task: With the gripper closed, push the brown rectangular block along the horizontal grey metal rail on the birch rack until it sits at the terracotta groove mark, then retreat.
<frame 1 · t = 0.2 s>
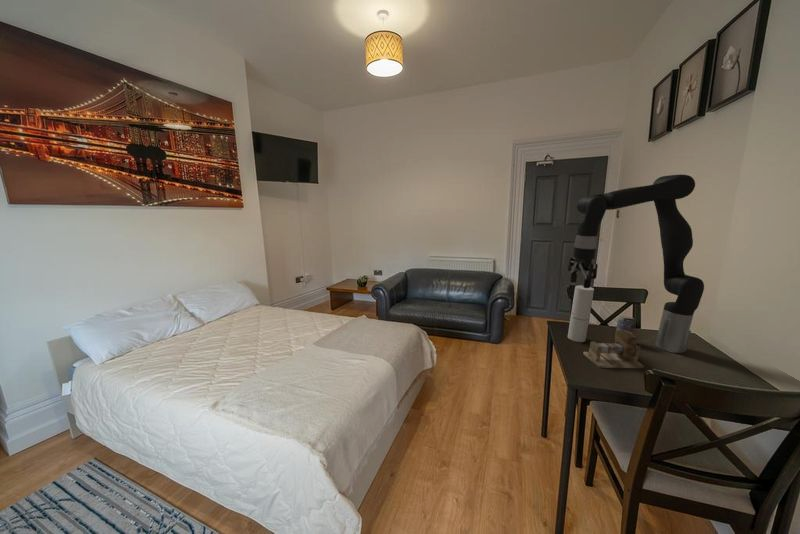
hand: (579, 284, 117), 29 cm above the table, fingers open, 8 cm apart
pipe rack: (611, 360, 113), on the table
cylindrical container: (576, 338, 132), on the table
beverage can: (622, 341, 130), on the table
brown rectangular block: (624, 344, 112), point 7 cm above the table, slide at -3.8 cm
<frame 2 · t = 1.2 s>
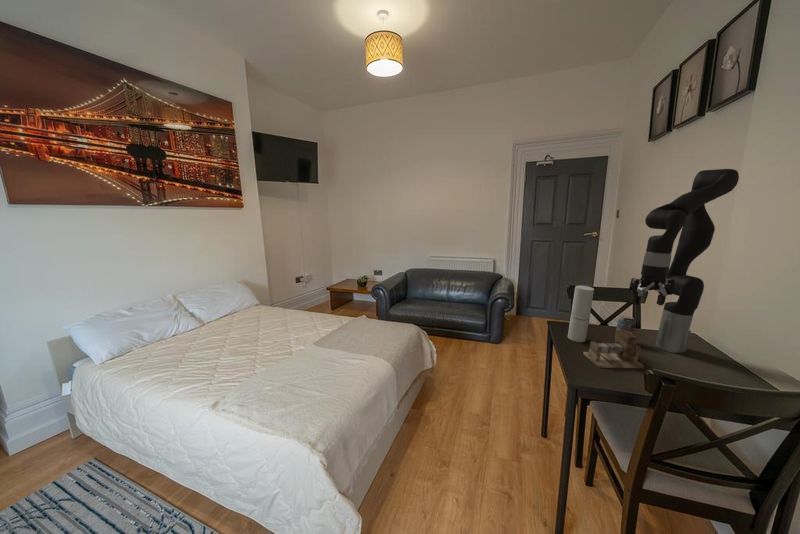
hand: (647, 304, 109), 24 cm above the table, fingers open, 8 cm apart
nothing on the table moved.
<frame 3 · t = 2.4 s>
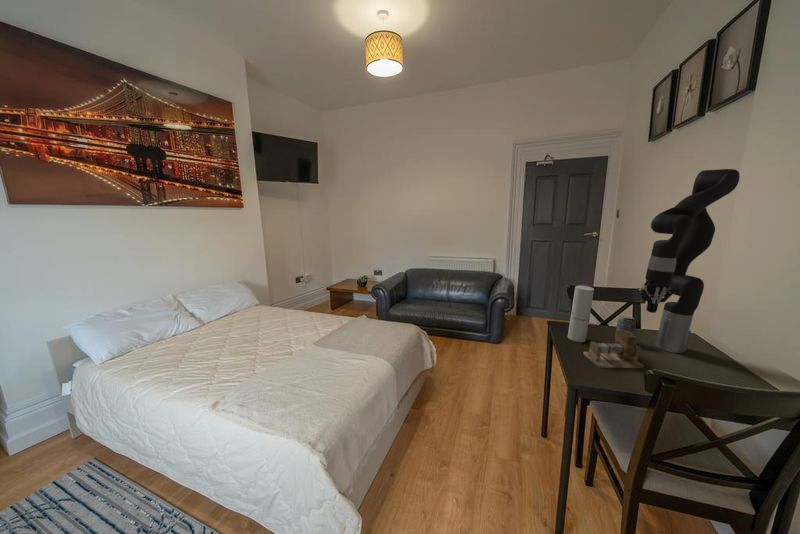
hand: (651, 311, 109), 21 cm above the table, fingers closed
nothing on the table moved.
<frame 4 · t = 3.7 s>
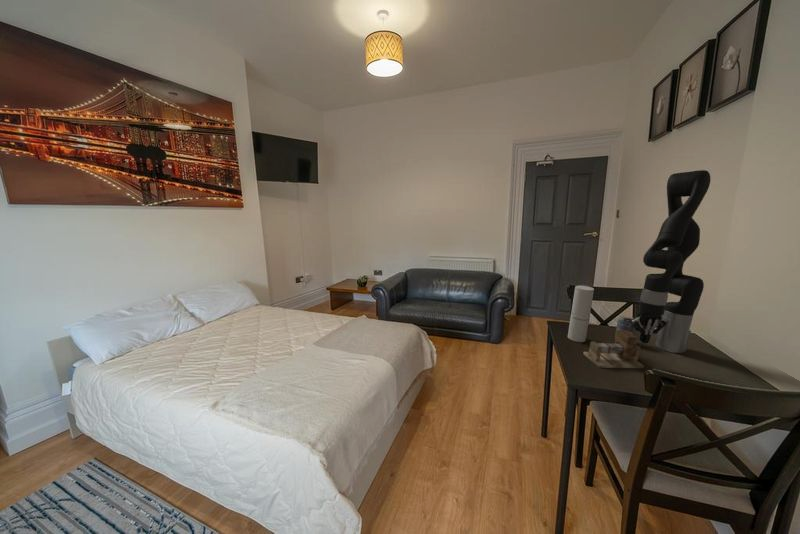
hand: (643, 342, 111), 8 cm above the table, fingers closed
nothing on the table moved.
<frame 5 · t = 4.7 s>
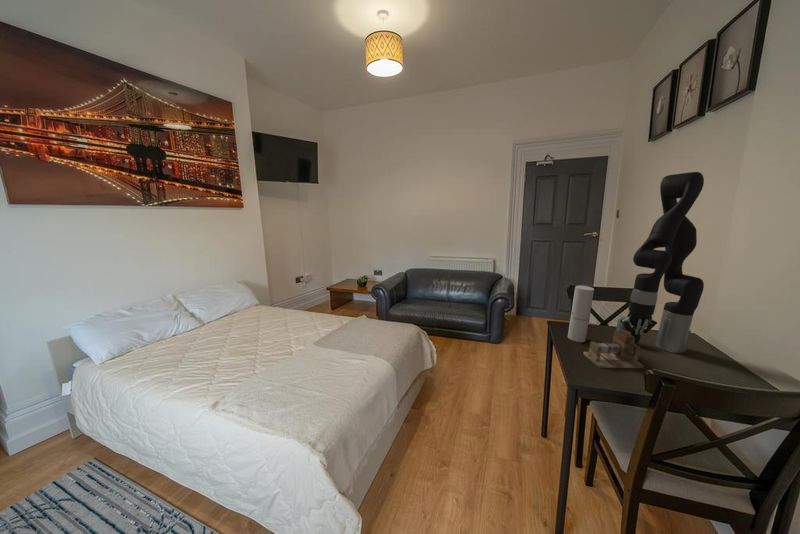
hand: (634, 342, 111), 8 cm above the table, fingers closed
brown rectangular block: (622, 344, 112), point 7 cm above the table, slide at -2.9 cm, touching gripper
everything else where it was.
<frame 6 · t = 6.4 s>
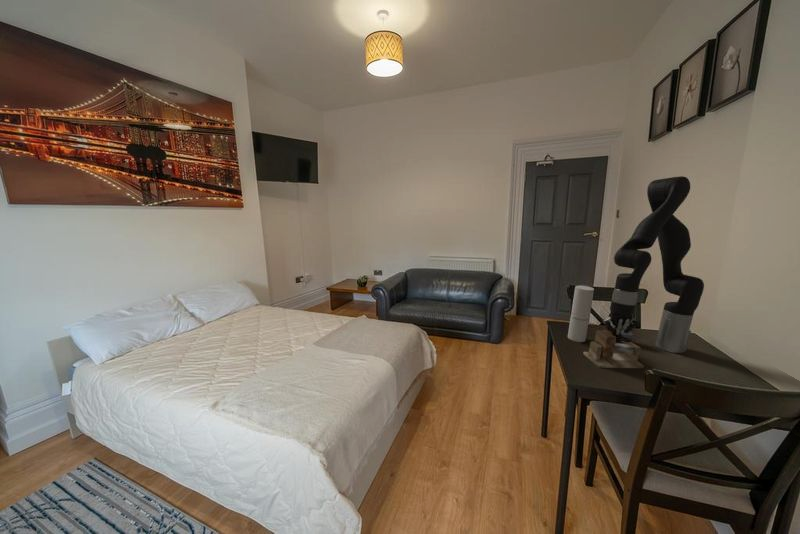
hand: (615, 341, 111), 8 cm above the table, fingers closed
brown rectangular block: (604, 344, 112), point 7 cm above the table, slide at 4.3 cm, touching gripper
everything else where it was.
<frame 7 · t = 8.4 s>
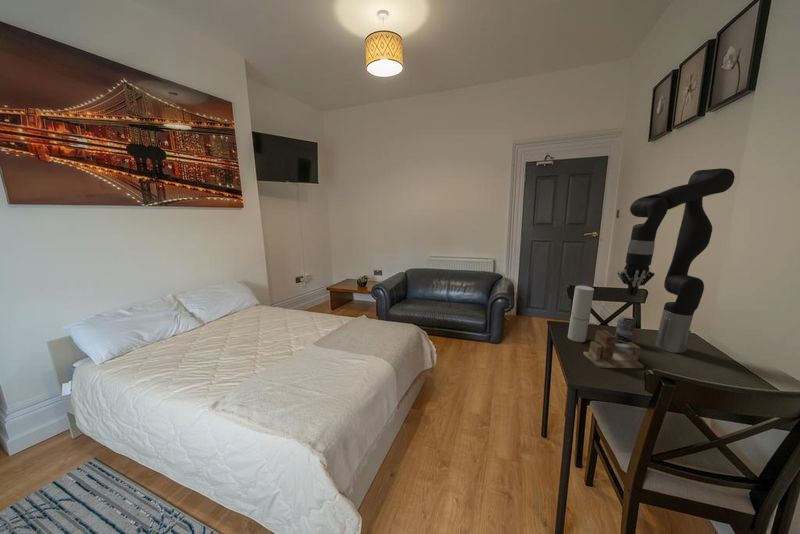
hand: (631, 295, 110), 27 cm above the table, fingers closed
brown rectangular block: (604, 344, 112), point 7 cm above the table, slide at 4.3 cm
everything else where it was.
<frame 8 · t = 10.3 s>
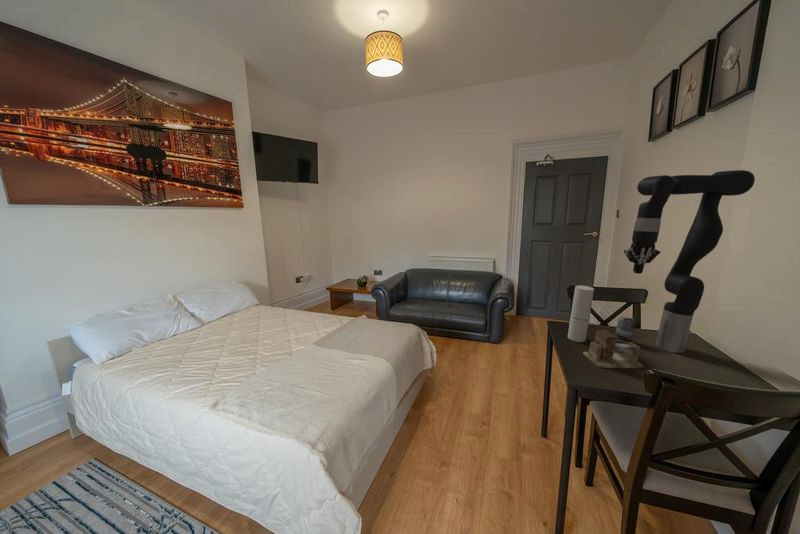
hand: (637, 273, 112), 35 cm above the table, fingers closed
nothing on the table moved.
at the end: brown rectangular block slide at 4.3 cm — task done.
